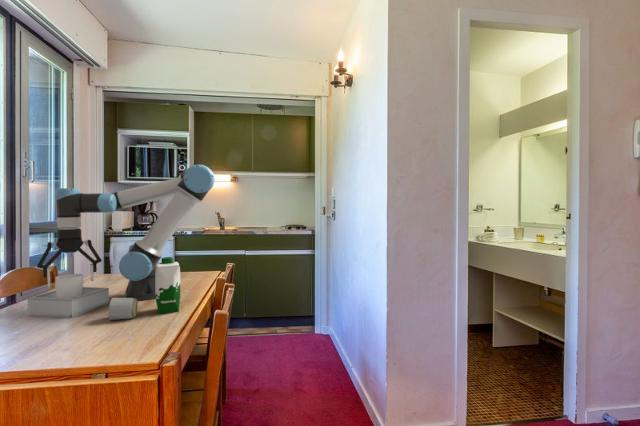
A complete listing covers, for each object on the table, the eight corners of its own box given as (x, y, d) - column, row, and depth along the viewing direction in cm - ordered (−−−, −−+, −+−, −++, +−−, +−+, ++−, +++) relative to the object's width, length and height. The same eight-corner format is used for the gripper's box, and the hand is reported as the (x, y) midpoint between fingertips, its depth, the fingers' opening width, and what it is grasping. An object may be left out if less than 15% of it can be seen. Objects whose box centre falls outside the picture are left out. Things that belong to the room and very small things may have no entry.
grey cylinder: (134, 320, 123) (134, 298, 123) (107, 323, 120) (107, 300, 120) (139, 312, 133) (139, 292, 133) (115, 314, 130) (115, 293, 130)
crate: (108, 303, 143) (108, 287, 143) (72, 317, 125) (71, 299, 125) (69, 302, 146) (69, 286, 146) (27, 315, 128) (27, 297, 128)
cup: (64, 303, 140) (64, 274, 139) (88, 303, 140) (88, 273, 140) (49, 310, 131) (48, 278, 130) (74, 310, 131) (74, 278, 131)
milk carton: (179, 305, 141) (178, 256, 140) (181, 312, 133) (181, 259, 132) (155, 308, 137) (154, 257, 136) (156, 315, 129) (155, 261, 128)
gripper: (105, 226, 145) (107, 277, 146) (27, 229, 130) (29, 286, 131) (108, 227, 139) (109, 280, 140) (26, 230, 124) (28, 290, 125)
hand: (71, 283), depth 135 cm, fingers open, 13 cm apart
